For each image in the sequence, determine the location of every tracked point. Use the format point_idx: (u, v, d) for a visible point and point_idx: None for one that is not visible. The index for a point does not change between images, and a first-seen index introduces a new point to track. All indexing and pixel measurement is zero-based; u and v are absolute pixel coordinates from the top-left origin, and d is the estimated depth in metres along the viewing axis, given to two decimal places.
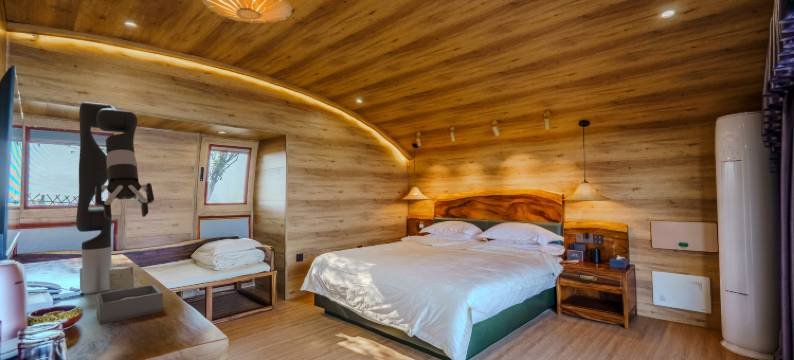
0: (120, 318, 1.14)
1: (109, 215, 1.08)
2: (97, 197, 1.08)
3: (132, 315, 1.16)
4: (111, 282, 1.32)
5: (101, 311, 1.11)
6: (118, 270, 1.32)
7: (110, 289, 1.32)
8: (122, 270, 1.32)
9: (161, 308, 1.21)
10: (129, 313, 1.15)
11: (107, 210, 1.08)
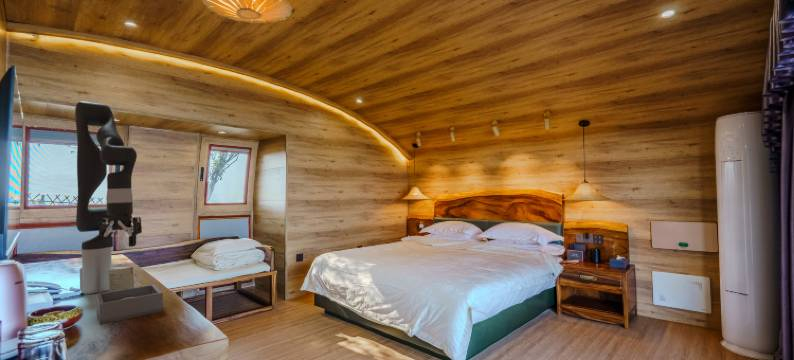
0: (120, 318, 1.14)
1: (106, 246, 1.33)
2: (99, 230, 1.34)
3: (132, 315, 1.16)
4: (111, 282, 1.32)
5: (101, 311, 1.11)
6: (118, 270, 1.32)
7: (110, 289, 1.32)
8: (122, 270, 1.32)
9: (161, 308, 1.21)
10: (129, 313, 1.15)
11: (106, 241, 1.34)
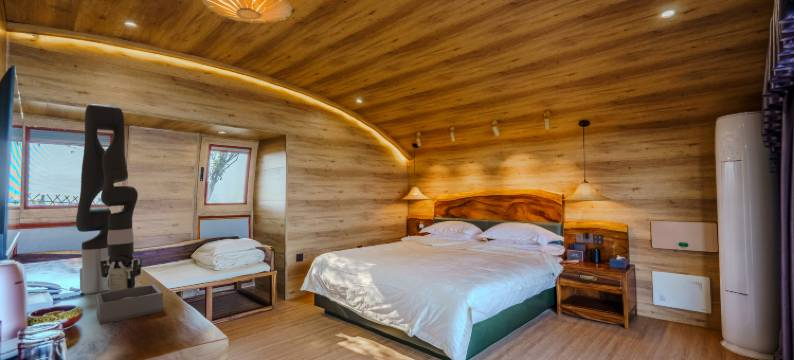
0: (120, 318, 1.14)
1: None
2: (102, 272, 1.33)
3: (132, 315, 1.16)
4: (111, 282, 1.32)
5: (101, 311, 1.11)
6: (118, 270, 1.32)
7: (110, 289, 1.32)
8: (122, 270, 1.32)
9: (161, 308, 1.21)
10: (129, 313, 1.15)
11: None
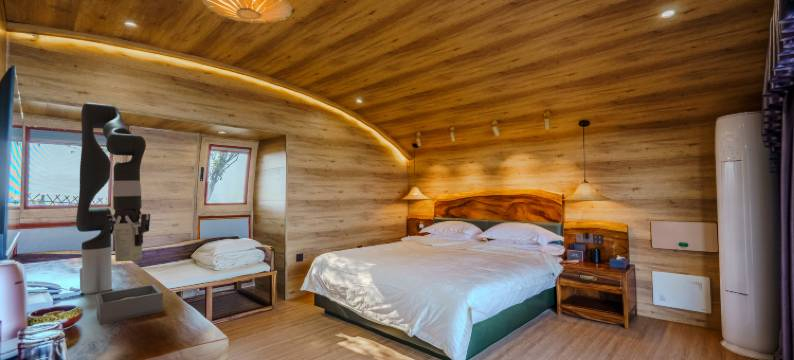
0: (120, 318, 1.14)
1: None
2: (107, 228, 1.22)
3: (132, 315, 1.16)
4: (117, 238, 1.20)
5: (101, 311, 1.11)
6: (125, 225, 1.20)
7: (116, 246, 1.21)
8: (129, 225, 1.20)
9: (161, 308, 1.21)
10: (129, 313, 1.15)
11: None
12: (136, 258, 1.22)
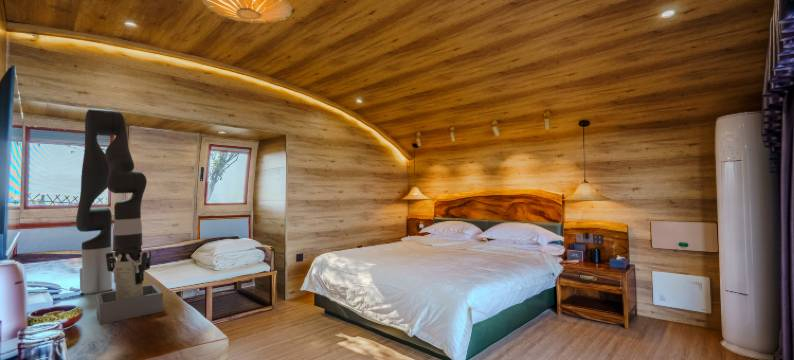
0: (120, 318, 1.14)
1: None
2: (108, 266, 1.22)
3: (132, 315, 1.16)
4: (118, 277, 1.20)
5: (101, 311, 1.11)
6: (125, 263, 1.20)
7: (116, 284, 1.20)
8: (130, 263, 1.20)
9: (161, 308, 1.21)
10: (129, 313, 1.15)
11: None
12: (137, 296, 1.21)
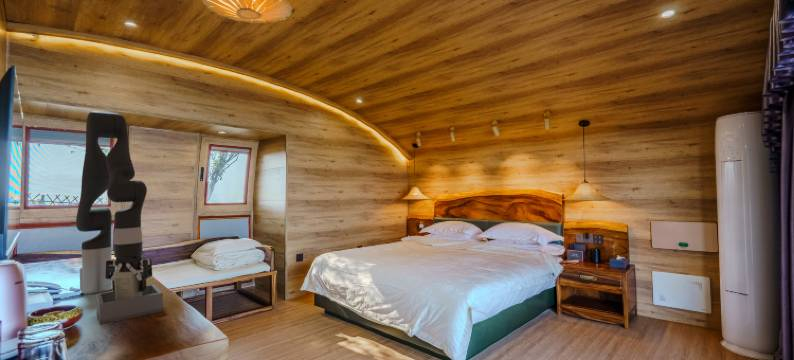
0: (120, 318, 1.14)
1: (114, 290, 1.21)
2: (106, 273, 1.21)
3: (132, 315, 1.16)
4: (117, 287, 1.20)
5: (101, 311, 1.11)
6: (125, 274, 1.20)
7: (116, 295, 1.20)
8: (129, 274, 1.20)
9: (161, 308, 1.21)
10: (129, 313, 1.15)
11: None
12: None
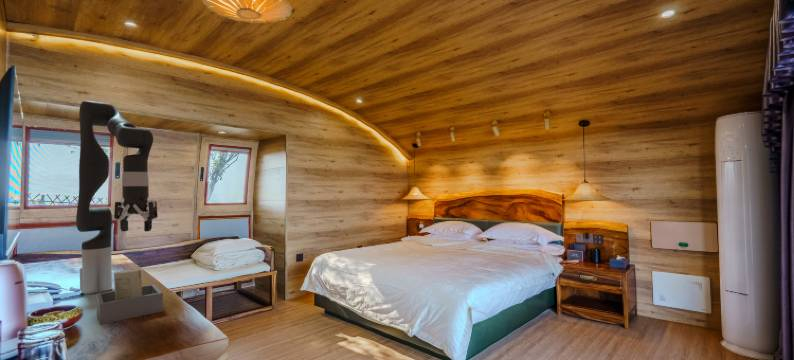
0: (120, 318, 1.14)
1: (122, 229, 1.31)
2: (115, 213, 1.31)
3: (132, 315, 1.16)
4: (117, 287, 1.20)
5: (101, 311, 1.11)
6: (125, 274, 1.20)
7: (116, 295, 1.20)
8: (129, 274, 1.20)
9: (161, 308, 1.21)
10: (129, 313, 1.15)
11: None
12: None
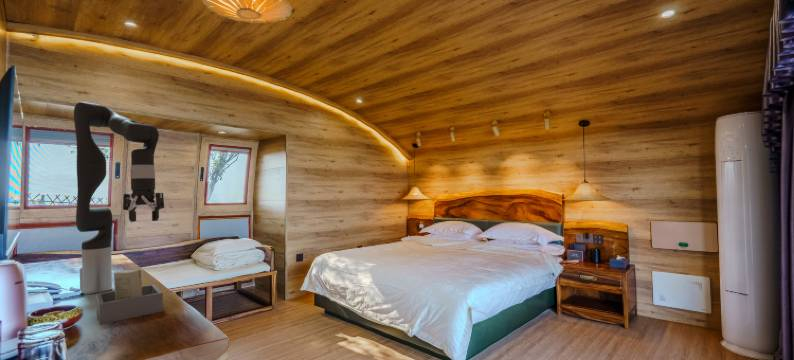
0: (120, 318, 1.14)
1: (130, 220, 1.38)
2: (123, 205, 1.38)
3: (132, 315, 1.16)
4: (117, 287, 1.20)
5: (101, 311, 1.11)
6: (125, 274, 1.20)
7: (116, 295, 1.20)
8: (129, 274, 1.20)
9: (161, 308, 1.21)
10: (129, 313, 1.15)
11: (130, 215, 1.38)
12: None
